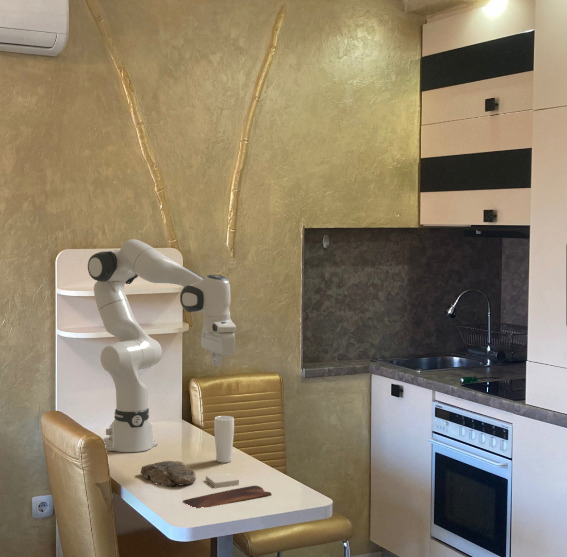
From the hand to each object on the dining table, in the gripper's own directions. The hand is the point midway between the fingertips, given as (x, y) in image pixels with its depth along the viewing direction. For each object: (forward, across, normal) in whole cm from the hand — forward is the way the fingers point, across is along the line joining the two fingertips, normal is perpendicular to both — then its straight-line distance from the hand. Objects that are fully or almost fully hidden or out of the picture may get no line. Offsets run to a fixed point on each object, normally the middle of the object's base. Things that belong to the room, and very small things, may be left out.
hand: (216, 365), depth 289 cm
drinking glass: (+34, -5, +5) cm, 35 cm away
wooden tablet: (+35, +31, -10) cm, 48 cm away
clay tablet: (+35, +7, -18) cm, 40 cm away
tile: (+33, +13, -5) cm, 36 cm away
